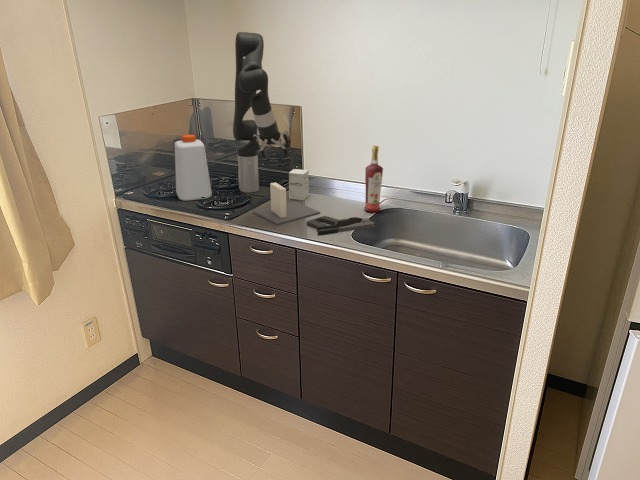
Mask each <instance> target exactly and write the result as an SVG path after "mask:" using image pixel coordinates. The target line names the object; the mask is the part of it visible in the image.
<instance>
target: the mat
mask: <svg viewBox="0 0 640 480" xmlns="http://www.w3.org/2000/svg"><path fill="white" fill-rule="evenodd" d="M286 204H287V215H286V217H282V218H281V217H279V216H278V215H277V214H275V213H274V212H273V211H271V206H269V207H266V208H261V209H257V210H253V211H252V213H253V214H254V215H256V216H259V217H260V218H261V219H264V220H266V221H268V222H270V223H272V224H274V225H275V226H279V225H280V226H281V225H283V224H286V223H291V222H293V221H298V220H302V219H305V218H306V219H307V218H309V217H313V216H316V215H320V214H321V211H320V210H317V209H314V208H311V207H309V206H307V205H305V204H302V203H300V202H298V201H297V200H295V201H291V202H286Z"/></svg>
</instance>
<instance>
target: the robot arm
mask: <svg viewBox="0 0 640 480" xmlns="http://www.w3.org/2000/svg"><path fill="white" fill-rule="evenodd" d="M264 43H265V42H264V38H263V35H262V34H260V33H257V32H248V31H247V32H246V31H238V32H237V34H236V35H235V42H234V44H235V45H234V47H235V49H234V51H235V80H234V113H233V114H234V115H233V125H232V135H233V138H234V139H235V141H237V142H243V141H244V142H245V141H246V142H247V143H246V144H245V145H243V146H241V147H239V148H238V149H237V163H238V170H237V176H238V188H239V192H242V193H255V192H258V191H259V190H260V186H259V185H260V184H259V183H260V182H259V181H260V180H259V179H260V178H259V162H258V161H259V160H258V158H259V157H258V150H259V151H260V153H261V156H262V157H263V158H264V159H267V158H268V153H267V150H266V145H267V146H272V145H273V146H274V145H277V146H278V147H281V148H282V151H283V155H284V157H285V158H287V157H288V155H289V149H288V148H290V147H291V144H292V142H291V138H290V135H289V133H288V131H287V130H285V131H284V132H280V131H279V127H278V123H277V120H276V117H275V113H274V111H273V108H272V106H271V102H270V99H269V76H268V74H267V71H265V69H263V64H262V63H263V58H264V49H265V48H264V47H265V46H264ZM257 91H259V92H257ZM250 108H251V111H252V113H253V119H246V120H245V119H244V117H245V115H246V114H247V112H248V111H249V109H250ZM259 140H261V142H262V143H261V144H260V142H259Z"/></svg>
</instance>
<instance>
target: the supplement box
mask: <svg viewBox="0 0 640 480" xmlns="http://www.w3.org/2000/svg"><path fill="white" fill-rule="evenodd" d="M309 171H310V170H309V169H300V168H299V169H297V168H293V169H292V170H290V171H289V172H288V198H289V200H296V201H297V200H298V201H305V200H306V199H307V198H308V197H309V185H310V183H309V179H310V177H309V176H310V175H309V174H310V173H309Z"/></svg>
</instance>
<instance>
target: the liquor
mask: <svg viewBox="0 0 640 480" xmlns="http://www.w3.org/2000/svg"><path fill="white" fill-rule="evenodd" d="M379 149H380V148H379V146H378V145H372V146H371V153H372V154H371V162H370V164H369V165H367V166H366V167H365V168H364V170H365V173H364V174H365V177H364V178H365V179H364V181H365V205H364V207H363V209H364V210H365V211H366V212H368V213H373V214H375V213H377V212H378V211H380V209H381V207H380V204H381V203H380V200H381V191H382V190H381V189H382V184H383V183H382V182H383V173H384V168H383V166H381V165H379Z"/></svg>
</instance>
